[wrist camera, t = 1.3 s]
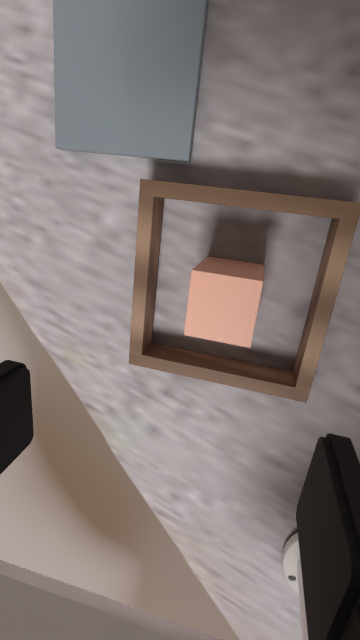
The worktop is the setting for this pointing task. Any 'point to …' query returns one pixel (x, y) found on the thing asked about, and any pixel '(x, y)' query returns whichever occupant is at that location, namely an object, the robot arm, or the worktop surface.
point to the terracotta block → (224, 300)
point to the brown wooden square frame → (218, 367)
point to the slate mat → (128, 76)
